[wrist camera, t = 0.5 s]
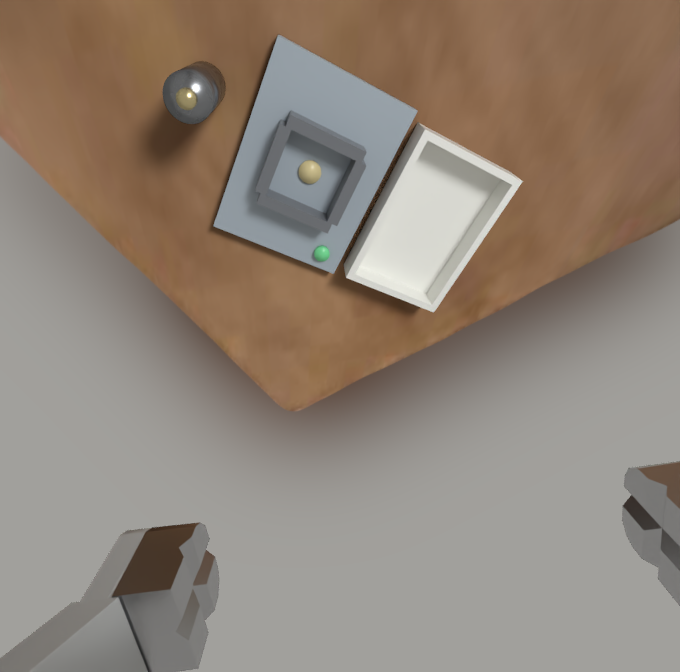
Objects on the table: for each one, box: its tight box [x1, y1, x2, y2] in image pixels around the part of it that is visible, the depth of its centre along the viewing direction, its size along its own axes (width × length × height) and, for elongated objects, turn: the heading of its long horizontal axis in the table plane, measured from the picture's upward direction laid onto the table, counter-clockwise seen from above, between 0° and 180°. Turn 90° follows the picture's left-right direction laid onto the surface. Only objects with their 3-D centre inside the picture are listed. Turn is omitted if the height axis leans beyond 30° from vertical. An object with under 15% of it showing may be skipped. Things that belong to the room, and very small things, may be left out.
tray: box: [344, 123, 523, 312], centre depth 54 cm, size 18×12×4 cm
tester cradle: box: [213, 34, 417, 274], centre depth 49 cm, size 20×15×4 cm
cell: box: [163, 61, 226, 124], centre depth 42 cm, size 4×4×9 cm
